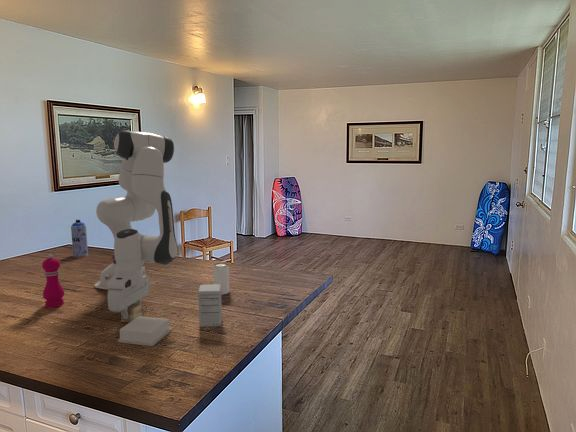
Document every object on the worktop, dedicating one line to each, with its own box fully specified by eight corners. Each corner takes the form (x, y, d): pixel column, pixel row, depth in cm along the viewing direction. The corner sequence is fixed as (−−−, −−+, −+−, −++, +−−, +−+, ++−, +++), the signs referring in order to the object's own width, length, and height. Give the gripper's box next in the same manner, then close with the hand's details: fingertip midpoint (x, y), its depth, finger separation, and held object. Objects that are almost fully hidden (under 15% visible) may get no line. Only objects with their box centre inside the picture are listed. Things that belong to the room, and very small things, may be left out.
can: (226, 295, 178) (225, 267, 176) (211, 294, 179) (210, 266, 177) (231, 290, 184) (231, 263, 182) (217, 289, 185) (216, 262, 183)
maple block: (121, 321, 152) (120, 307, 151) (129, 316, 156) (128, 302, 156) (134, 322, 150) (133, 309, 150) (142, 317, 155) (141, 304, 154)
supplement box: (201, 318, 154) (200, 284, 152) (222, 318, 155) (221, 283, 153) (198, 327, 147) (197, 291, 145) (221, 326, 148) (220, 290, 146)
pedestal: (117, 342, 136) (117, 330, 135) (139, 326, 147) (138, 315, 147) (152, 346, 133) (152, 333, 132) (171, 330, 145) (171, 318, 144)
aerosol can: (69, 256, 240) (66, 220, 237) (78, 253, 248) (76, 218, 245) (82, 257, 239) (79, 221, 236) (91, 253, 247) (88, 218, 244)
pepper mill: (43, 309, 163) (38, 257, 159) (44, 303, 169) (39, 253, 166) (65, 306, 166) (61, 255, 163) (65, 300, 172) (61, 251, 169)
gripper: (138, 268, 162) (140, 303, 164) (102, 285, 142) (105, 325, 144) (153, 269, 160) (155, 305, 162) (120, 286, 141) (122, 327, 143)
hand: (131, 314), depth 153 cm, fingers closed on maple block, 5 cm apart
